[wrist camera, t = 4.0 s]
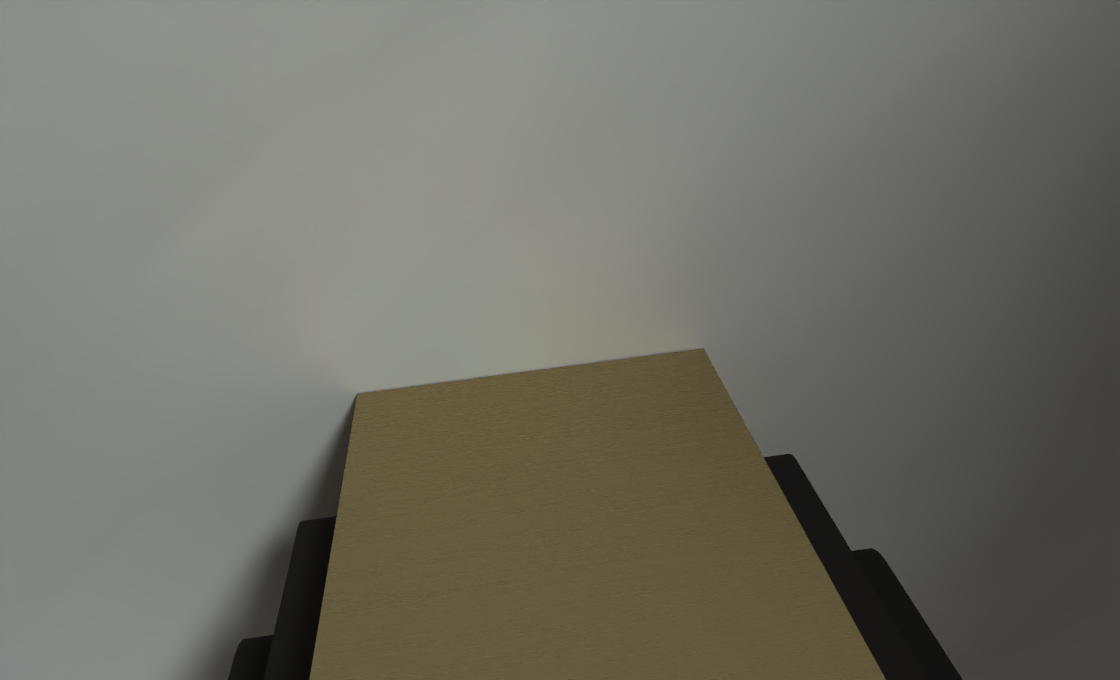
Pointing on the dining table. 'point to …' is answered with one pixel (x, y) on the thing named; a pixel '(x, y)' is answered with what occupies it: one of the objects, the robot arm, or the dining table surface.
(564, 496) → the tan cubic block
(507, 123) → the dining table surface
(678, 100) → the dining table surface
